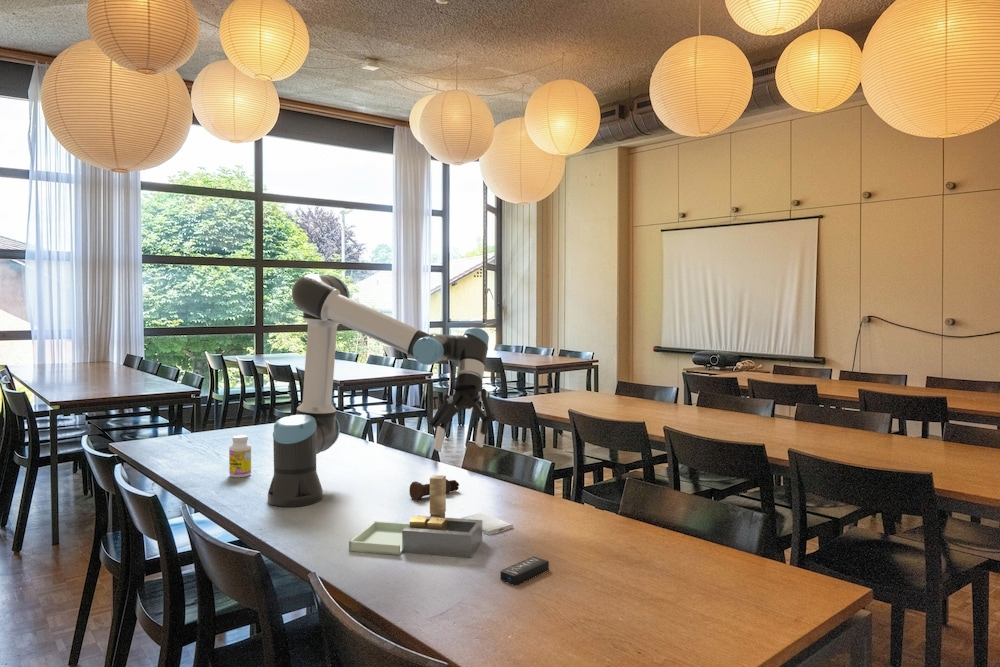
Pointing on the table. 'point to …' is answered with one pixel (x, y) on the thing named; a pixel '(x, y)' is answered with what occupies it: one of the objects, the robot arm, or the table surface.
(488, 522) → the hard drive
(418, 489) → the bolt
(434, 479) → the tan wooden pedestal block
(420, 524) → the light wood block
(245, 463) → the supplement bottle
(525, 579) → the multiport hub
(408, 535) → the gray open box
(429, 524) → the tan wooden block
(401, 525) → the tray
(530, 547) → the table surface
